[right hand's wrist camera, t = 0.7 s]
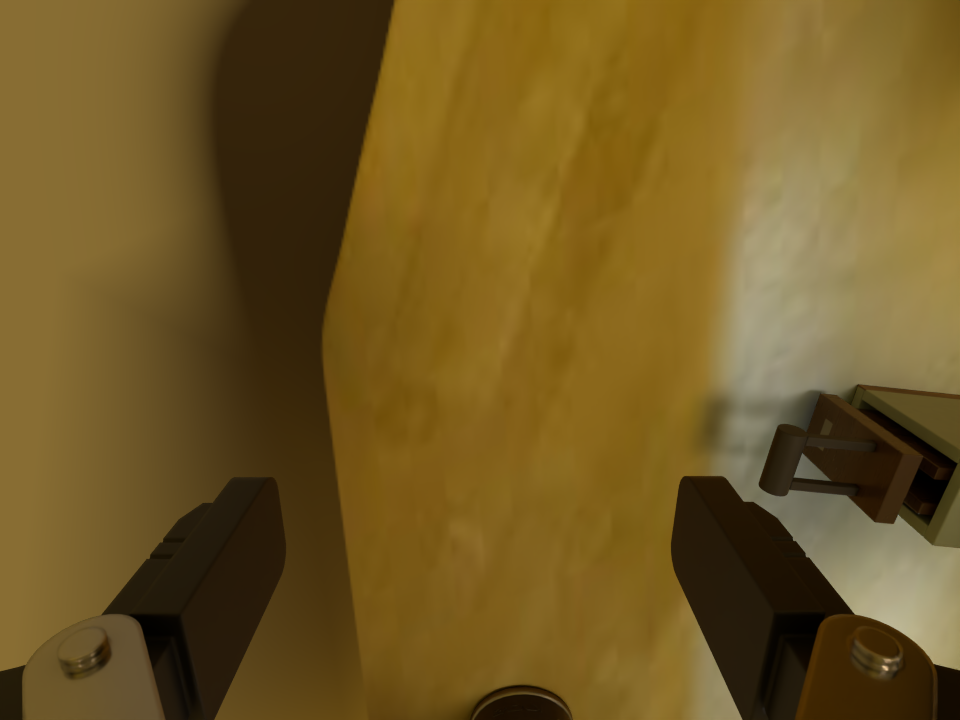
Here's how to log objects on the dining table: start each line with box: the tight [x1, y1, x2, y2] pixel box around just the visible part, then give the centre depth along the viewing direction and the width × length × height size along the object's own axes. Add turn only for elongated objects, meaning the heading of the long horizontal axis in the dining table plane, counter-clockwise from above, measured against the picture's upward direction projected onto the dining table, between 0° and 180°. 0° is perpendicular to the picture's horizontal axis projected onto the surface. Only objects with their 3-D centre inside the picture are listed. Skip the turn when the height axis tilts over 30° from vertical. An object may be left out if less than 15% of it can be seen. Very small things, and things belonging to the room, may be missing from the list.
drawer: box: [759, 393, 958, 524], centre depth 37 cm, size 26×5×8 cm, turn 84°
